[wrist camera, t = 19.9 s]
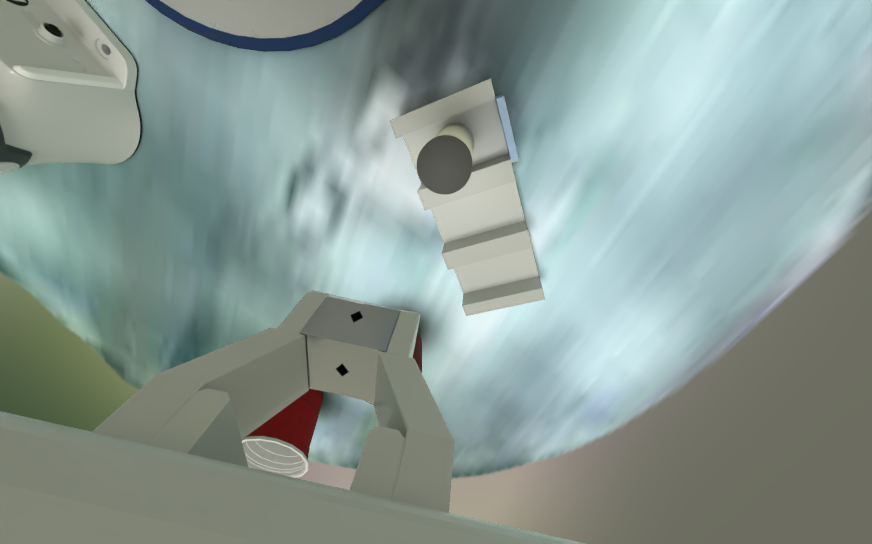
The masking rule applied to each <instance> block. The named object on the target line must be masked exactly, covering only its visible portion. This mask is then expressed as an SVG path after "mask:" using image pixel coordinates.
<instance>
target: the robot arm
mask: <svg viewBox="0 0 872 544" xmlns="http://www.w3.org/2000/svg"><path fill="white" fill-rule="evenodd" d="M109 48H110V49H109ZM110 51H111V52H110ZM136 78H137V67H136V63H135V61H134V59H133V57H132V55H131V54H130V53H129V52H128V50H127V49H126V48H125V47H124V46H123V45H122V43H121V42H120V41H119V40H118V39H117V38H116V36H115V35H114V34H113V33H112V32H111V31H110V29H109V28H108V27H107V26H106V25H105V24H104V22H103V21H102V20H101V19H100V18H99V17H98V15H97V14H96V13H95V12H94V11H93V10H92V8H91V7H90V6H89V5H88V4H87V3H86V1H85V0H0V174H2V173H7V172H11V171H14V170H17V169H18V168H21V167H23V166H26V165H36V164H50V163H98V164H117V163H120V162H123V161H125V160H127V159H128V158H129V157H130V156H131V155H132V154H133V153H134V151H135V150H136V148H137V145H138V142H139V138H140V118H139V113H138V109H137V104H136V100H135V92H134V91H135V85H136ZM419 321H420V313H417V312H412V311H406V310H399V309H394V308H389V307H384V306H379V305H374V304H370V303H366V302H361V301H357V300H353V299H349V298H344V297H340V296H336V295H332V294H330V295H329V294H326V293H322V292H317V291H313V290H312V291H310V292H308V293H307V294H306V295H305V296H304V297H303V298H302V300H301V301H300V302H299V303H298V304H297V305H296V307H295V308H294V309H293V310H292V311H291V313H290V314H289V315H288V316H287V317H286V318H285V320H284V321H283V322H282V323H281V324H280V326H279V327H278V328H277V329H275V328H269V329H267V330H264V331H262V332H259V333H257V334H254V335H252V336H250V337H247V338H245V339H242V340H240V341H237V342H235V343H233V344H230V345H228V346H225V347H223V348H220V349H218V350H215V351H213V352H211V353H208V354H206V355H203V356H201V357H198V358H196V359H194V360H191V361H189V362H186V363H184V364H181V365H179V366H177V367H174V368H172V369H169V370H167V371H164V372H162V373H159V374H157V375H156V376H155V377H153V378H152V379H151V380H150V381H149V382H148V383H147V384H146V385H144V386H143V387H142V388H141V389H140V390H139V391H138V392H137V393H135V394H134V395H133V396H132V397H131V398H130V399H129V400H128V401H126V402H125V403H124V404H123V405H122V406H121V407H120V408H119V409H118V410H116V411H115V412H114V413H113V414H112V415H111V416H109V417H108V418H107V419H106V420H105V421H104V422H103V423H102V424H100V425H99V426H98V427H97V428H96V429H95V430H94V431H93V432H89V431H85V430H80V429H76V428H72V427H67V426H63V425H58V424H54V423H49V422H45V421H41V420H36V419H32V418H27V417H23V416H19V415H14V414H9V413H5V412H1V411H0V544H585V543H580V542H575V541H571V540H567V539H563V538H558V537H554V536H549V535H544V534H540V533H536V532H532V531H527V530H522V529H518V528H514V527H509V526H505V525H500V524H496V523H492V522H487V521H483V520H478V519H474V518H469V517H465V516H460V515H456V514H452V513H449V503H450V491H451V478H452V465H453V453H454V439H453V437H452V435H451V433H450V431H449V429H448V427H447V425H446V423H445V421H444V419H443V417H442V415H441V413H440V411H439V408H438V406H437V404H436V402H435V400H434V398H433V396H432V394H431V392H430V390H429V388H428V386H427V384H426V382H425V380H424V378H423V375H422V373H421V371H420V369H419V367H418V365H417V363H416V361H415V359H414V358H413V353H414V348H415V343H416V337H417V332H418V326H419ZM309 389H314V390H320V391H325V392H330V393H336V394H341V395H345V396H349V397H353V398H357V399H361V400H365V401H369V402H373V403H374V407H375V411H376V415H377V419H378V423H379V426H377V427H375V428H374V429H372V430H370V432H369V435H368V438H367V441H366V444H365V447H364V450H363V452H362V455H361V458H360V461H359V464H358V467H357V470H356V473H355V476H354V479H353V482H352V485H351V487H350V490H346V489H341V488H337V487H333V486H328V485H324V484H319V483H315V482H311V481H306V480H301V479H297V478H293V477H289V476H284V475H280V474H276V473H271V472H267V471H262V470H258V469H253V468H249V467H248V463H247V459H246V455H245V452H244V448H243V444H242V441H241V440H242V439H243V438H245V437H246V436H247V435H249V434H250V433H251V432H253V431H254V430H255V429H257V428H258V427H260V426H261V425H262V424H264V423H265V422H266V421H268V420H269V419H270V418H272V417H273V416H275V415H276V414H277V413H279V412H280V411H281V410H283V409H284V408H285V407H287V406H288V405H290V404H291V403H292V402H294V401H295V400H296V399H298V398H299V397H300V396H302V395H303V394H304V393H306V392H307V391H309Z"/></svg>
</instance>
